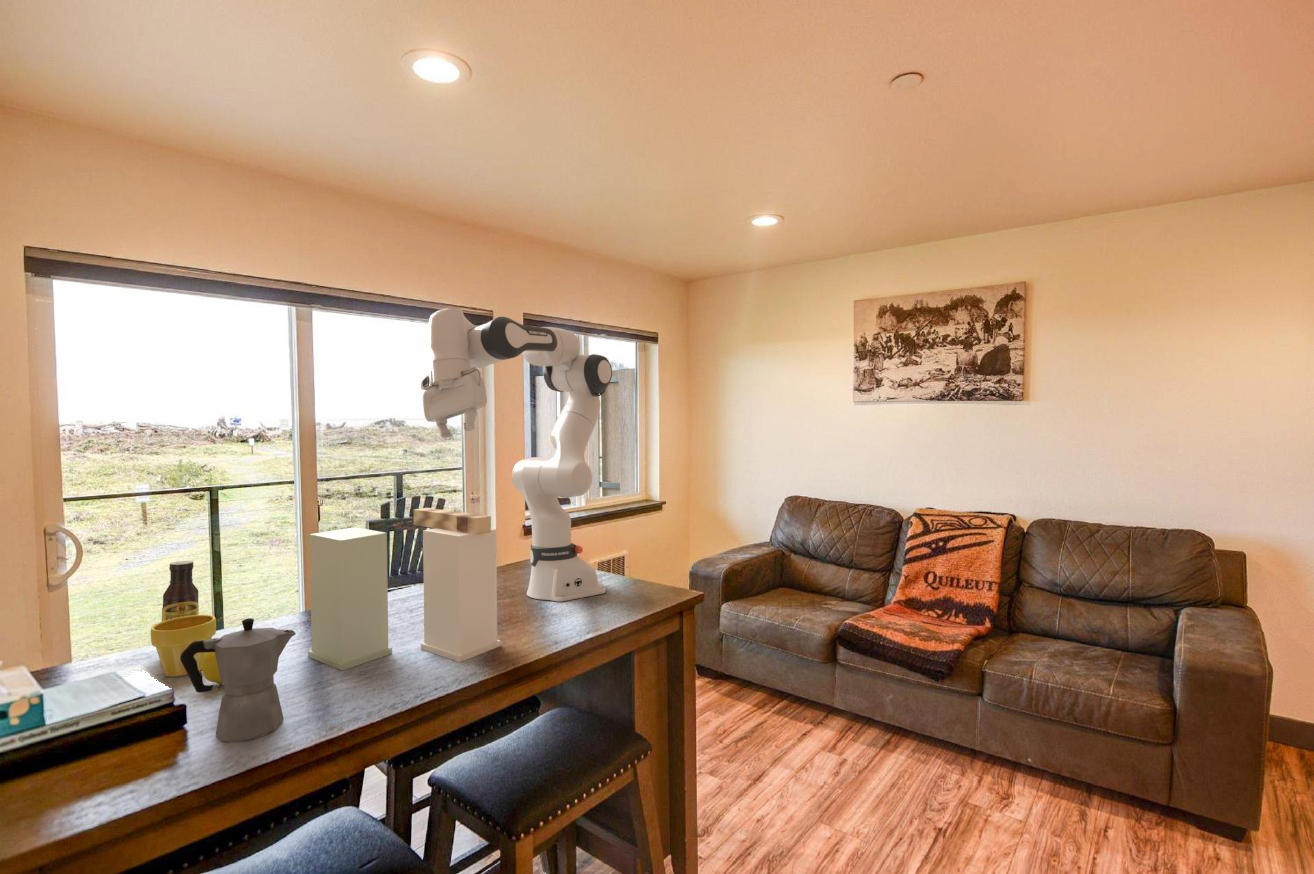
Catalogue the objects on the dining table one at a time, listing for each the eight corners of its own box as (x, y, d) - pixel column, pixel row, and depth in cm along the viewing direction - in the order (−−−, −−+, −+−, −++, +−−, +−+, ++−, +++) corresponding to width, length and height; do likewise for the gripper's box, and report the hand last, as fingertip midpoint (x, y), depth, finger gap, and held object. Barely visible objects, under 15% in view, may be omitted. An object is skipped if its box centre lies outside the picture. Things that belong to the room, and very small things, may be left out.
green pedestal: (308, 656, 132) (306, 534, 131) (358, 641, 141) (356, 526, 140) (341, 670, 124) (339, 541, 123) (391, 653, 133) (390, 532, 133)
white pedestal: (421, 649, 136) (419, 530, 135) (462, 634, 145) (461, 523, 144) (459, 662, 129) (458, 536, 128) (500, 645, 138) (499, 529, 137)
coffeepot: (296, 706, 109) (294, 604, 108) (298, 729, 101) (296, 619, 100) (186, 730, 101) (183, 620, 100) (179, 757, 93) (175, 637, 92)
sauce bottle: (162, 663, 128) (159, 567, 127) (160, 655, 133) (158, 562, 132) (201, 655, 132) (199, 562, 132) (198, 647, 137) (196, 557, 136)
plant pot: (161, 665, 127) (160, 617, 127) (222, 657, 131) (221, 611, 131) (144, 685, 118) (142, 633, 117) (210, 675, 122) (208, 626, 122)
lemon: (195, 688, 116) (194, 645, 116) (226, 676, 121) (225, 636, 121) (215, 693, 114) (214, 649, 114) (245, 681, 119) (244, 640, 119)
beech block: (413, 524, 142) (413, 509, 142) (427, 522, 145) (426, 507, 145) (477, 535, 130) (477, 518, 130) (490, 532, 133) (490, 516, 133)
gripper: (490, 366, 142) (496, 426, 140) (439, 386, 154) (444, 441, 153) (466, 363, 137) (472, 425, 135) (416, 384, 149) (421, 441, 148)
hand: (457, 434), depth 144 cm, fingers open, 8 cm apart
